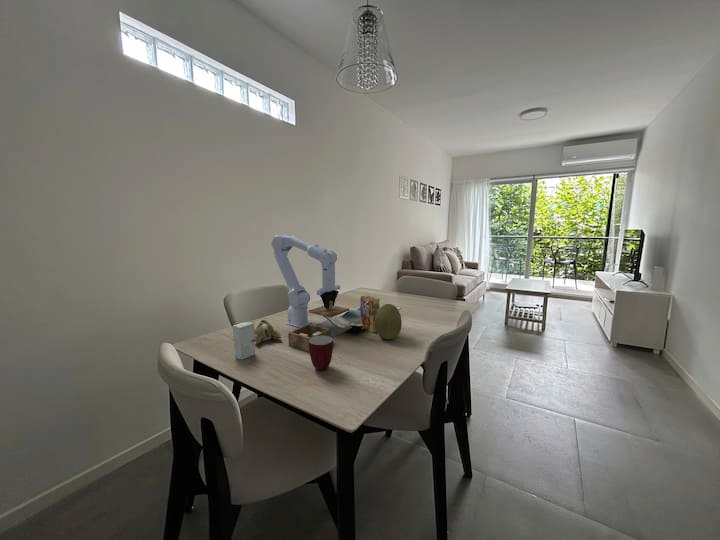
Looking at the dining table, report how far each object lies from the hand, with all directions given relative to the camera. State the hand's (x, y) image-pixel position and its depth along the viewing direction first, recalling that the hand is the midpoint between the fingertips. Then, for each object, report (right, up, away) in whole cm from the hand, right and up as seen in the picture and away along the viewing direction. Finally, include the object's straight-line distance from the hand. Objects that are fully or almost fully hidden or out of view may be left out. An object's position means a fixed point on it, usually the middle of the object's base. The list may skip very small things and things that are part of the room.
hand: (329, 307), depth 133 cm
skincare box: (-28, -15, -25) cm, 41 cm away
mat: (0, -10, +2) cm, 10 cm away
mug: (+1, -16, -36) cm, 40 cm away
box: (-6, -13, -15) cm, 21 cm away
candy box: (+19, -11, +1) cm, 21 cm away
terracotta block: (-10, -13, -16) cm, 23 cm away
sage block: (-3, -13, -14) cm, 19 cm away
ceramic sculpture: (-26, -13, -10) cm, 31 cm away
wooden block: (0, -2, 0) cm, 2 cm away
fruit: (+26, -12, -9) cm, 30 cm away
